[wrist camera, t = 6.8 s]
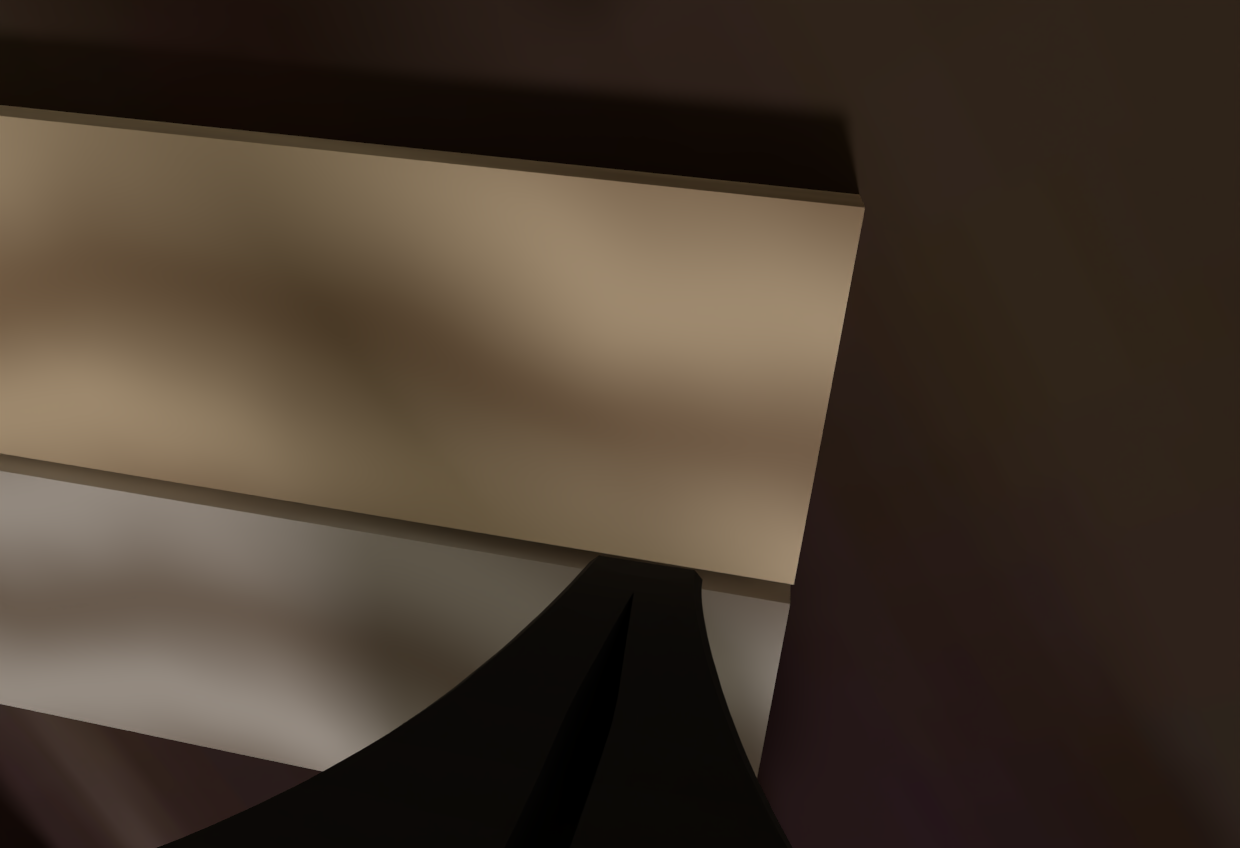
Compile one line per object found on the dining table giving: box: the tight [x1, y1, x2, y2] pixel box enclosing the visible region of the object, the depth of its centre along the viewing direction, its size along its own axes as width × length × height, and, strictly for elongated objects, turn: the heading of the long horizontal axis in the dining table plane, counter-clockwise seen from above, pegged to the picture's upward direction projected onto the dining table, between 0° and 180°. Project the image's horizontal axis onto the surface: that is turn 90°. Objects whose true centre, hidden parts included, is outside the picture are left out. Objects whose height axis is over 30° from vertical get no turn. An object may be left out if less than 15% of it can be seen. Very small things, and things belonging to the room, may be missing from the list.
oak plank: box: [0, 105, 865, 585], centre depth 19 cm, size 8×22×2 cm, turn 86°
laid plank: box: [0, 453, 790, 777], centre depth 23 cm, size 8×22×2 cm, turn 86°
